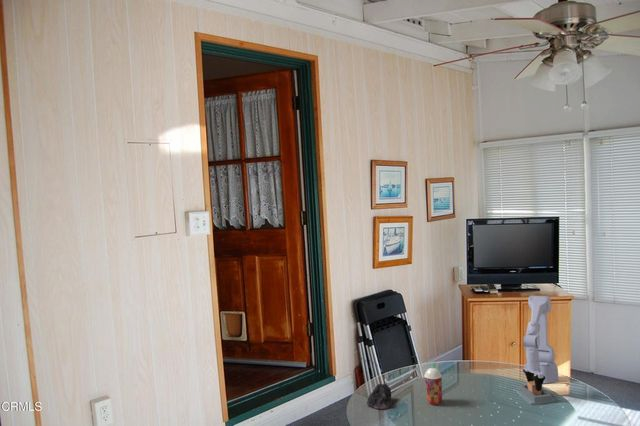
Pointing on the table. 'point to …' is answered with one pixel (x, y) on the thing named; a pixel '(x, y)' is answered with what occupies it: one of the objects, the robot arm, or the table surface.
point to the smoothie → (433, 385)
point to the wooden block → (533, 388)
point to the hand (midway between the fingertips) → (534, 387)
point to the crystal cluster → (380, 397)
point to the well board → (532, 398)
